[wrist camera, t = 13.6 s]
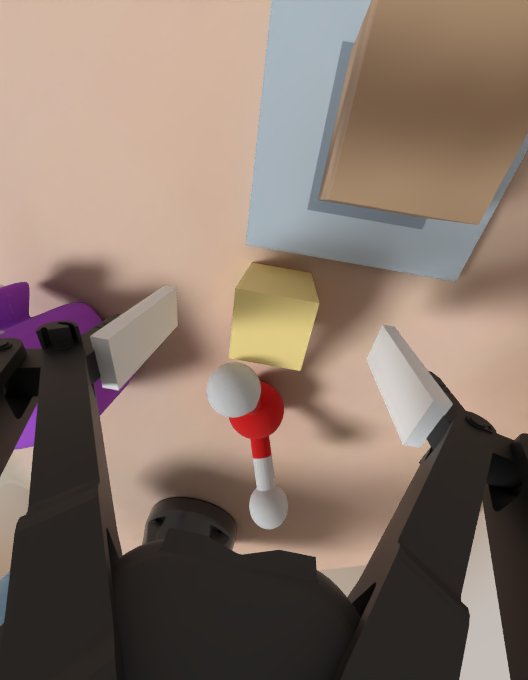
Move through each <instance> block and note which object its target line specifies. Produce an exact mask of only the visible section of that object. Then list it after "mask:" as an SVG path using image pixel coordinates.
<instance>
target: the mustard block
mask: <svg viewBox="0 0 528 680" xmlns="http://www.w3.org/2000/svg"><path fill="white" fill-rule="evenodd" d="M318 307H319V299H318V296H317V292H316V288H315V284H314V281H313V277H312V273H309V272H303V271H298V270H292V269H286V268H281V267H275V266H269V265H264V264H258V263H253V262H252V263H251V265H250V266H249V268H248V269H247V271H246V273H245V274H244V276H243V277H242V279H241V280H240V282H239V283H238V285H237V286H236V288H235V297H234V308H233V318H232V329H231V339H230V350H229V358H232V359H237V360H243V361H248V362H254V363H259V364H265V365H270V366H276V367H281V368H286V369H292V370H297V371H301V367H302V364H303V360H304V357H305V353H306V350H307V346H308V342H309V339H310V335H311V332H312V328H313V325H314V321H315V318H316V314H317V310H318Z"/></svg>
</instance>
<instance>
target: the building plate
mask: <svg viewBox="0 0 528 680" xmlns="http://www.w3.org/2000/svg"><path fill="white" fill-rule="evenodd" d="M370 2H371V0H272V2H271V11H270V21H269V30H268V40H267V49H266V58H265V68H264V77H263V87H262V96H261V105H260V115H259V124H258V134H257V143H256V153H255V162H254V171H253V181H252V190H251V200H250V209H249V218H248V228H247V237H246V245H250V246H255V247H261V248H267V249H272V250H278V251H284V252H289V253H295V254H301V255H306V256H312V257H318V258H323V259H329V260H335V261H341V262H346V263H352V264H358V265H363V266H369V267H375V268H380V269H386V270H392V271H397V272H403V273H409V274H414V275H420V276H426V277H432V278H437V279H443V280H449V281H454V282H456V280H457V278H458V276H459V275H460V273H461V271H462V269H463V267H464V266H465V264H466V262H467V260H468V258H469V256H470V255H471V253H472V251H473V249H474V247H475V246H476V244H477V242H478V240H479V238H480V236H481V235H482V233H483V231H484V229H485V227H486V225H487V224H488V222H489V220H490V218H491V216H492V215H493V213H494V211H495V209H496V207H497V205H498V204H499V202H500V200H501V198H502V196H503V195H504V193H505V191H506V189H507V187H508V185H509V184H510V182H511V180H512V178H513V176H514V175H515V173H516V171H517V169H518V167H519V165H520V164H521V162H522V160H523V158H524V156H525V155H526V153H527V151H528V133H527V135H526V137H525V139H524V141H523V143H522V145H521V146H520V148H519V150H518V152H517V154H516V156H515V158H514V160H513V161H512V163H511V165H510V167H509V169H508V171H507V173H506V175H505V176H504V178H503V180H502V182H501V184H500V186H499V188H498V190H497V191H496V193H495V195H494V197H493V199H492V201H491V203H490V205H489V206H488V208H487V210H486V212H485V214H484V216H483V218H482V220H481V221H480V223H479V225H474V224H466V223H459V222H451V221H443V220H436V219H428V218H420V217H414V216H409V215H403V214H397V213H391V212H385V211H380V210H374V209H368V208H362V207H356V206H351V205H345V204H339V203H333V202H327V201H322V200H318V196H319V192H320V188H321V183H322V179H323V174H324V170H325V165H326V161H327V156H328V152H329V148H330V143H331V139H332V134H333V130H334V125H335V121H336V116H337V112H338V108H339V103H340V99H341V94H342V90H343V85H344V81H345V76H346V72H347V68H348V63H349V59H350V54H351V51H352V48H353V45H354V43H355V40H356V38H357V35H358V33H359V30H360V28H361V25H362V23H363V20H364V18H365V15H366V13H367V10H368V8H369V5H370Z"/></svg>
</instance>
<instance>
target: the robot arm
mask: <svg viewBox="0 0 528 680" xmlns="http://www.w3.org/2000/svg"><path fill="white" fill-rule="evenodd" d="M177 326H178V315H177V288H176V287H172V286H167V285H164V286H163V287H161V288H160V289H158V290H157V291H155V292H154V293H152V294H151V295H149V296H148V297H146V298H145V299H144V300H142V301H141V302H139V303H138V304H136V305H135V306H133V307H132V308H130V309H129V310H127V311H126V312H125V313H123V314H122V315H115V316H112V317H109V318H107V319H105V320H104V321H102V322H101V323H100V324H98V325H96V326H95V327H93V328H91V329H90V330H88V331H87V332H85V333H84V334H82V335H81V334H80V331H79V327H78V325H77V323H75V322H72V321H55V322H50V323H47V324H44V325H42V326H40V327H38V328H37V330H36V334H37V336H38V339H39V342H40V344H41V347H42V349H25V347H24V345H23V342H22V341H21V340H20V339H17V338H0V476H1V474H2V472H3V470H4V468H5V466H6V464H7V462H8V460H9V458H10V456H11V454H12V452H13V450H14V448H15V446H16V445H17V443H18V441H19V439H20V437H21V435H22V433H23V431H24V429H25V427H26V425H27V423H28V421H29V419H30V417H31V415H32V413H33V411H34V409H35V407H36V405H37V416H36V427H35V438H34V450H33V461H32V472H31V484H30V495H29V507H28V512H27V514H26V515H24V516H22V517H20V518H19V520H18V522H17V525H16V529H15V535H14V543H13V552H12V560H11V569H10V571H9V572H8V573H7V574H6V575H5V576H4V577H3V578H2V579H0V680H459V677H460V671H461V666H462V661H463V655H464V650H465V644H466V639H467V634H468V628H469V618H470V615H469V610H468V608H467V607H466V606H465V605H464V604H463V603H462V602H461V593H462V588H463V584H464V579H465V575H466V570H467V566H468V561H469V556H470V552H471V547H472V543H473V539H474V534H475V529H476V525H477V521H478V516H479V512H480V507H481V503H482V500H483V507H484V513H485V520H486V526H487V532H488V538H489V545H490V551H491V558H492V564H493V570H494V576H495V583H496V589H497V596H498V602H499V609H500V615H501V622H502V628H503V634H504V641H505V647H506V653H507V660H508V666H509V672H510V679H511V680H528V434H525V433H523V434H521V435H519V436H518V437H517V438H516V439H515V440H512V439H509V438H507V437H504V436H502V435H499V434H497V433H496V430H495V429H494V427H493V426H492V425H491V424H490V423H489V422H488V421H486V420H485V419H483V418H482V417H480V416H479V415H476V414H474V413H472V412H468V411H465V409H464V408H463V407H462V406H461V404H460V403H459V402H458V401H457V399H456V398H455V397H454V395H453V394H452V393H451V392H450V390H449V389H448V388H447V387H446V385H445V384H444V383H443V382H442V380H441V379H440V378H439V377H437V376H436V375H435V374H434V373H432V372H430V371H428V370H427V369H426V368H425V366H424V365H423V364H422V362H421V361H420V360H419V358H418V357H417V356H416V354H415V353H414V352H413V351H412V349H411V348H410V347H409V345H408V344H407V343H406V341H405V340H404V339H403V337H402V336H401V335H400V333H399V332H398V331H397V329H396V328H395V327H392V326H387V325H382V327H381V329H380V331H379V333H378V336H377V338H376V340H375V342H374V345H373V347H372V349H371V351H370V354H369V356H368V358H367V363H368V365H369V367H370V370H371V372H372V374H373V376H374V379H375V381H376V383H377V386H378V388H379V390H380V393H381V395H382V397H383V400H384V402H385V404H386V407H387V409H388V411H389V414H390V416H391V418H392V420H393V423H394V425H395V427H396V430H397V432H398V434H399V437H400V439H401V441H402V444H403V445H407V446H412V447H417V448H420V447H421V446H422V445H423V443H424V442H425V441H426V439H427V440H428V442H429V444H430V446H431V448H430V449H429V450H428V451H427V453H426V454H425V455H424V456H423V458H422V459H421V460H420V462H419V463H420V466H419V468H418V470H417V472H416V474H415V476H414V477H413V479H412V481H411V483H410V485H409V487H408V489H407V491H406V493H405V494H404V496H403V498H402V500H401V502H400V504H399V506H398V508H397V510H396V511H395V513H394V515H393V517H392V519H391V521H390V523H389V525H388V527H387V528H386V530H385V532H384V534H383V536H382V538H381V540H380V542H379V543H378V545H377V547H376V549H375V551H374V553H373V555H372V557H371V559H370V560H369V562H368V564H367V566H366V568H365V570H364V572H363V574H362V576H361V577H360V579H359V581H358V582H357V584H356V586H355V587H354V588H353V590H352V591H351V593H350V594H349V596H348V597H346V595H345V594H344V593H343V592H342V591H341V590H340V589H339V588H338V586H337V585H335V584H334V583H333V582H332V581H331V580H330V579H329V578H327V577H326V576H325V575H324V574H322V573H321V572H319V571H317V570H316V557H312V556H307V555H302V554H297V553H292V552H287V551H283V550H275V551H267V552H259V553H252V554H244V555H241V554H237V553H235V552H234V551H232V549H233V546H234V543H235V537H236V531H237V526H236V523H235V521H234V520H233V518H232V517H231V516H230V515H229V514H227V513H226V512H225V511H223V510H222V509H220V508H218V507H216V506H214V505H212V504H209V503H206V502H203V501H199V500H195V499H189V498H171V499H166V500H162V501H160V502H158V503H157V504H155V505H154V507H153V508H152V510H151V513H150V515H149V517H148V519H147V522H146V525H145V531H144V537H143V543H142V545H141V546H139V547H137V548H135V549H133V550H131V551H129V552H128V553H126V554H125V555H123V556H122V551H121V546H120V541H119V537H118V532H117V527H116V520H115V514H114V507H113V501H112V494H111V487H110V481H109V474H108V468H107V461H106V455H105V448H104V442H103V435H102V429H101V422H100V416H99V409H98V403H97V396H96V390H95V386H94V383H95V382H96V381H97V380H98V379H99V378H100V379H101V383H102V387H103V388H108V389H113V390H118V391H119V390H120V389H121V388H122V387H123V385H124V384H125V383H126V382H127V381H128V380H129V379H130V378H131V377H132V375H133V374H134V373H135V372H136V371H137V370H138V369H139V368H140V367H141V366H142V364H143V363H144V362H145V361H146V360H147V359H148V358H149V357H150V356H151V355H152V353H153V352H154V351H155V350H156V349H157V348H158V347H159V346H160V345H161V344H162V342H163V341H164V340H165V339H166V338H167V337H168V336H169V335H170V334H171V332H172V331H173V330H174V329H175V328H176V327H177ZM37 403H38V404H37Z"/></svg>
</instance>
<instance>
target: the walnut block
mask: <svg viewBox="0 0 528 680" xmlns="http://www.w3.org/2000/svg"><path fill="white" fill-rule="evenodd" d="M527 133H528V0H371V2H370V5H369V8H368V10H367V13H366V15H365V18H364V20H363V23H362V25H361V28H360V30H359V33H358V35H357V38H356V40H355V43H354V45H353V48H352V51H351V54H350V59H349V63H348V68H347V72H346V76H345V81H344V85H343V90H342V94H341V99H340V103H339V108H338V112H337V116H336V121H335V125H334V130H333V134H332V139H331V143H330V148H329V152H328V156H327V161H326V165H325V170H324V174H323V179H322V183H321V188H320V192H319V196H318V200H322V201H327V202H333V203H339V204H345V205H351V206H356V207H362V208H368V209H374V210H380V211H385V212H391V213H397V214H403V215H409V216H414V217H420V218H428V219H436V220H443V221H451V222H459V223H466V224H474V225H479V223H480V221H481V220H482V218H483V216H484V214H485V212H486V210H487V208H488V206H489V205H490V203H491V201H492V199H493V197H494V195H495V193H496V191H497V190H498V188H499V186H500V184H501V182H502V180H503V178H504V176H505V175H506V173H507V171H508V169H509V167H510V165H511V163H512V161H513V160H514V158H515V156H516V154H517V152H518V150H519V148H520V146H521V145H522V143H523V141H524V139H525V137H526V135H527Z"/></svg>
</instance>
